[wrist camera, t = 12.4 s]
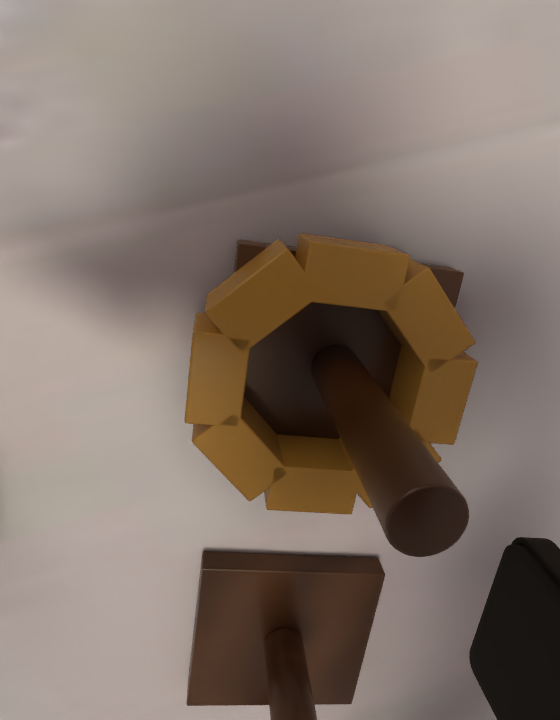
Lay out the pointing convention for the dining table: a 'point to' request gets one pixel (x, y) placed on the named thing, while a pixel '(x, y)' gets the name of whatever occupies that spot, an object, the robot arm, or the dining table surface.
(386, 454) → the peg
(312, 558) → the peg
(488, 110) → the dining table surface
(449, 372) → the ring
